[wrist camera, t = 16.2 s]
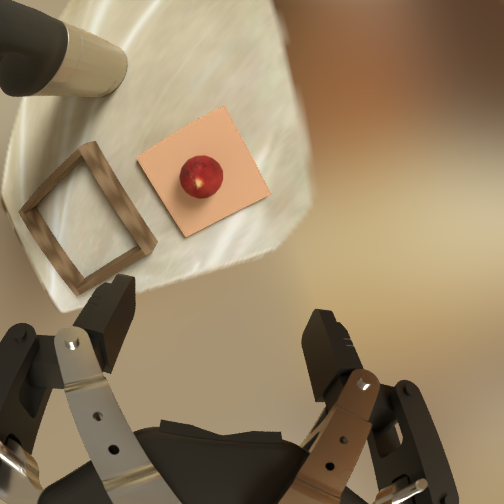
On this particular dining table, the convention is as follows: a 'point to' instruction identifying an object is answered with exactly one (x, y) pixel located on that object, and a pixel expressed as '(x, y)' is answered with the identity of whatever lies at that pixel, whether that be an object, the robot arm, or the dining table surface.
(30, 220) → the brown wooden square tray
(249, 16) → the dining table surface
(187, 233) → the terracotta tile
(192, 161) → the onion
